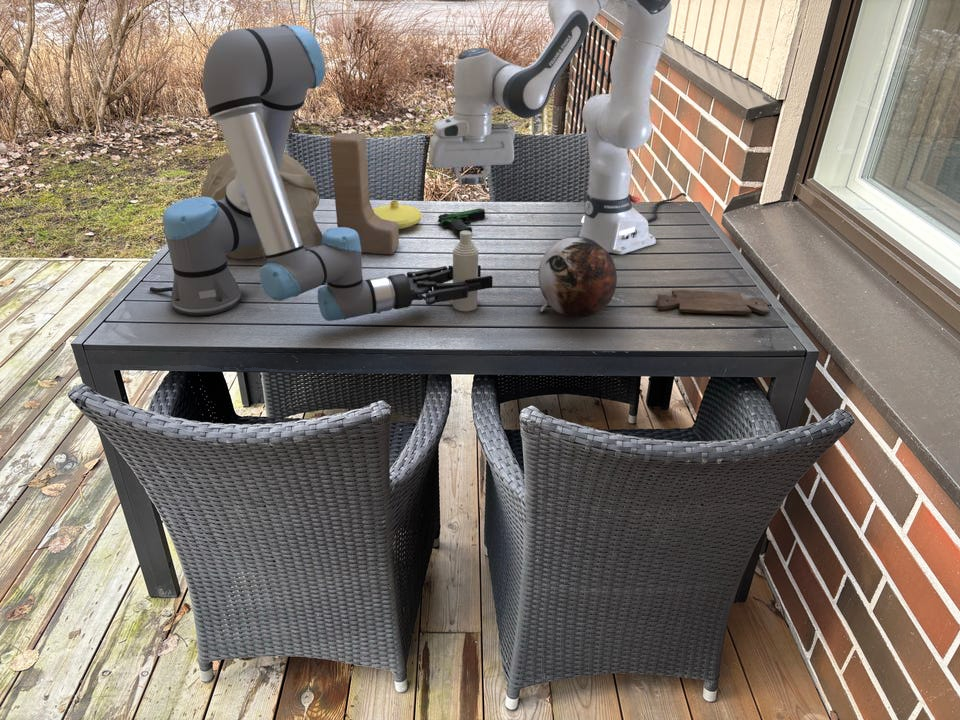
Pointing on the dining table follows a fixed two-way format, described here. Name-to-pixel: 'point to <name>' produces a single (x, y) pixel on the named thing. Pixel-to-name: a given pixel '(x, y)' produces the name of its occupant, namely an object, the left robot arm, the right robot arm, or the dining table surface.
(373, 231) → the decorative block
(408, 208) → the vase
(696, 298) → the dark wooden board
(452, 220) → the handgun
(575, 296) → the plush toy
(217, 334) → the dining table surface
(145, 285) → the dining table surface
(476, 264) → the bottle
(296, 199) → the helmet
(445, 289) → the left robot arm
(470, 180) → the cap
